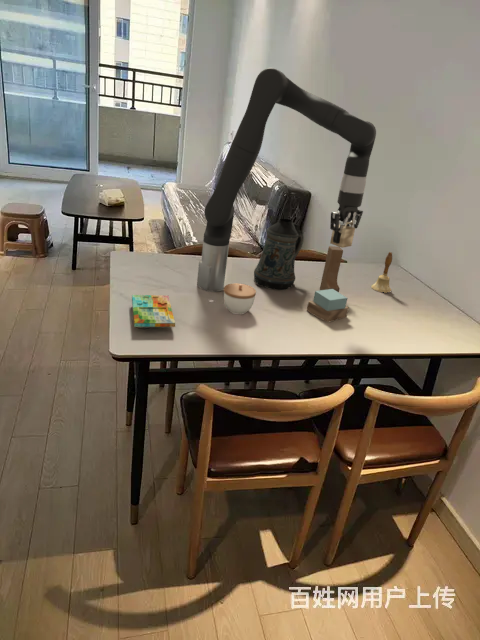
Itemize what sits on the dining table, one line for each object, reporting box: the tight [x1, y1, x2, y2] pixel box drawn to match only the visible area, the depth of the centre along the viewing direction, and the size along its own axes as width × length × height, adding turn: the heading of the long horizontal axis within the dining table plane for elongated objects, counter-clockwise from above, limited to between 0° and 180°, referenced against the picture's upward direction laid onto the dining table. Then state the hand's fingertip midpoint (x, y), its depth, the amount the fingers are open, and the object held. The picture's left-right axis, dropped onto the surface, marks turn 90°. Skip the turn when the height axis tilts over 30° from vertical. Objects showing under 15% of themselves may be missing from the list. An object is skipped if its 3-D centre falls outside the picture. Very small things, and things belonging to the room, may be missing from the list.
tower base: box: [306, 300, 349, 323], centre depth 167 cm, size 10×10×4 cm
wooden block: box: [319, 245, 344, 293], centre depth 181 cm, size 9×4×18 cm, turn 9°
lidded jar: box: [223, 282, 257, 315], centre depth 159 cm, size 11×11×9 cm
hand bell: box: [370, 251, 393, 294], centre depth 194 cm, size 8×8×16 cm
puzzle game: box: [131, 294, 176, 328], centre depth 147 cm, size 12×5×20 cm
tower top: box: [312, 289, 349, 311], centre depth 165 cm, size 8×8×4 cm
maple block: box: [330, 224, 356, 249], centre depth 156 cm, size 5×5×6 cm
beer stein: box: [253, 218, 304, 291], centre depth 185 cm, size 16×19×25 cm
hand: (341, 241), depth 157 cm, fingers closed on maple block, 5 cm apart
